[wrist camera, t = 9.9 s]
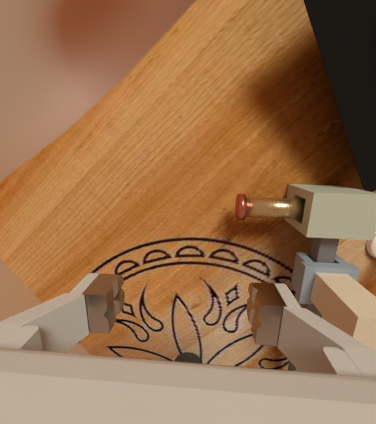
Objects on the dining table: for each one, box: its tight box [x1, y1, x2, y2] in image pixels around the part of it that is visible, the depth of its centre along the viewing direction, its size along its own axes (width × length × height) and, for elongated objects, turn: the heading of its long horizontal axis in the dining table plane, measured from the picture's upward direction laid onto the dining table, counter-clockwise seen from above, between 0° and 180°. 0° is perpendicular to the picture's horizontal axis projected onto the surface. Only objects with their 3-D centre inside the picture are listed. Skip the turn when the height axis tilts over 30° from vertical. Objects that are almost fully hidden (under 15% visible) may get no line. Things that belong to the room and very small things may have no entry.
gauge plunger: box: [235, 194, 306, 220], centre depth 26 cm, size 10×3×3 cm, turn 89°
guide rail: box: [283, 184, 376, 371], centre depth 30 cm, size 8×38×7 cm, turn 179°
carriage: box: [291, 252, 376, 353], centre depth 23 cm, size 6×5×11 cm
